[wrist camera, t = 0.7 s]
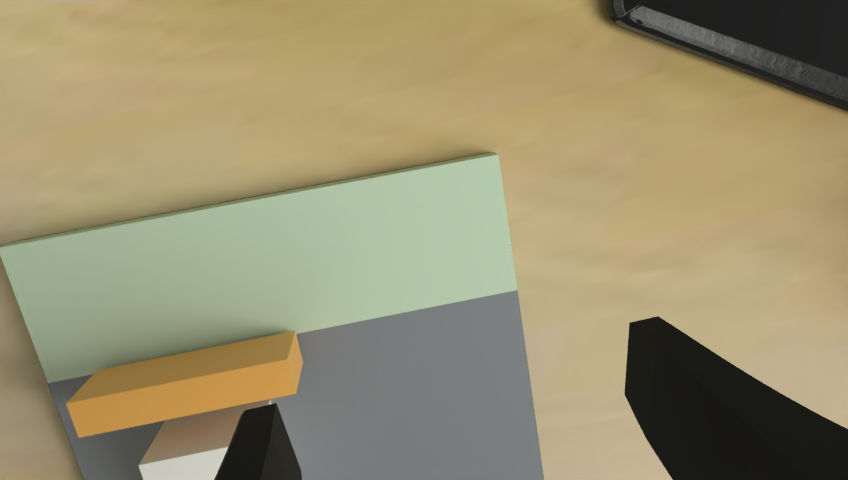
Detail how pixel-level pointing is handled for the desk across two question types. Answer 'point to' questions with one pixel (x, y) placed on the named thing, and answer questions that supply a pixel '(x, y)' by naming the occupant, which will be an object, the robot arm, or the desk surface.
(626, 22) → the phone
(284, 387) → the bar
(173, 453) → the plug block
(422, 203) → the green and grey board
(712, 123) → the desk surface
